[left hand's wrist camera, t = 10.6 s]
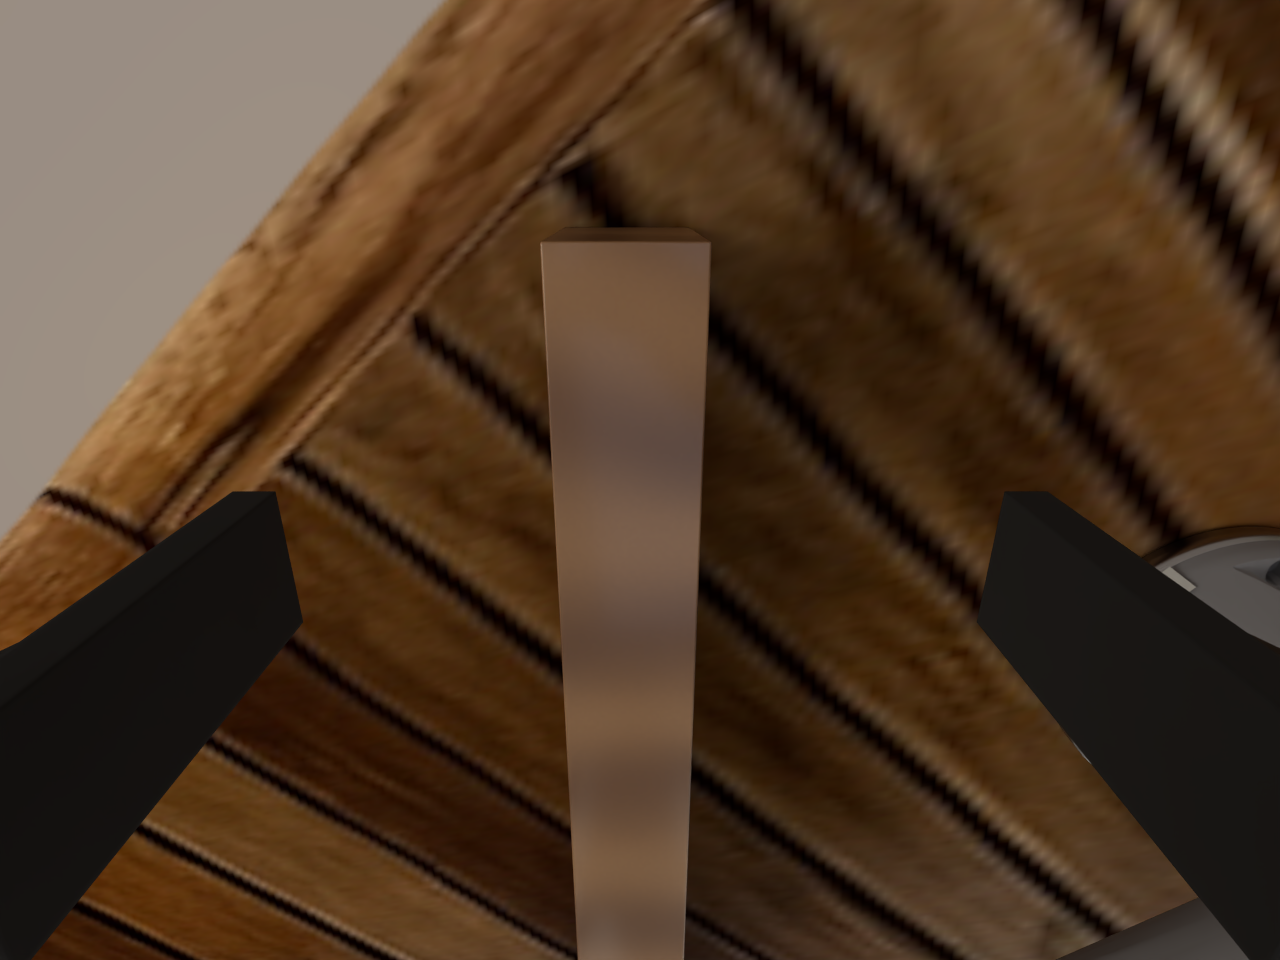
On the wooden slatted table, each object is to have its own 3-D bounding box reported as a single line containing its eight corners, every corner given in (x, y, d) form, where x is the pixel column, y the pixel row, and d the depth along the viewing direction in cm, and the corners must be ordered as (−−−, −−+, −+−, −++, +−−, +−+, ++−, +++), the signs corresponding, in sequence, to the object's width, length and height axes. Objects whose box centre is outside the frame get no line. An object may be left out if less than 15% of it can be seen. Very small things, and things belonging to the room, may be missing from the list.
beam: (563, 227, 27) (539, 241, 20) (690, 227, 27) (711, 240, 20) (598, 1093, 50) (592, 1247, 43) (666, 1092, 50) (672, 1245, 43)
